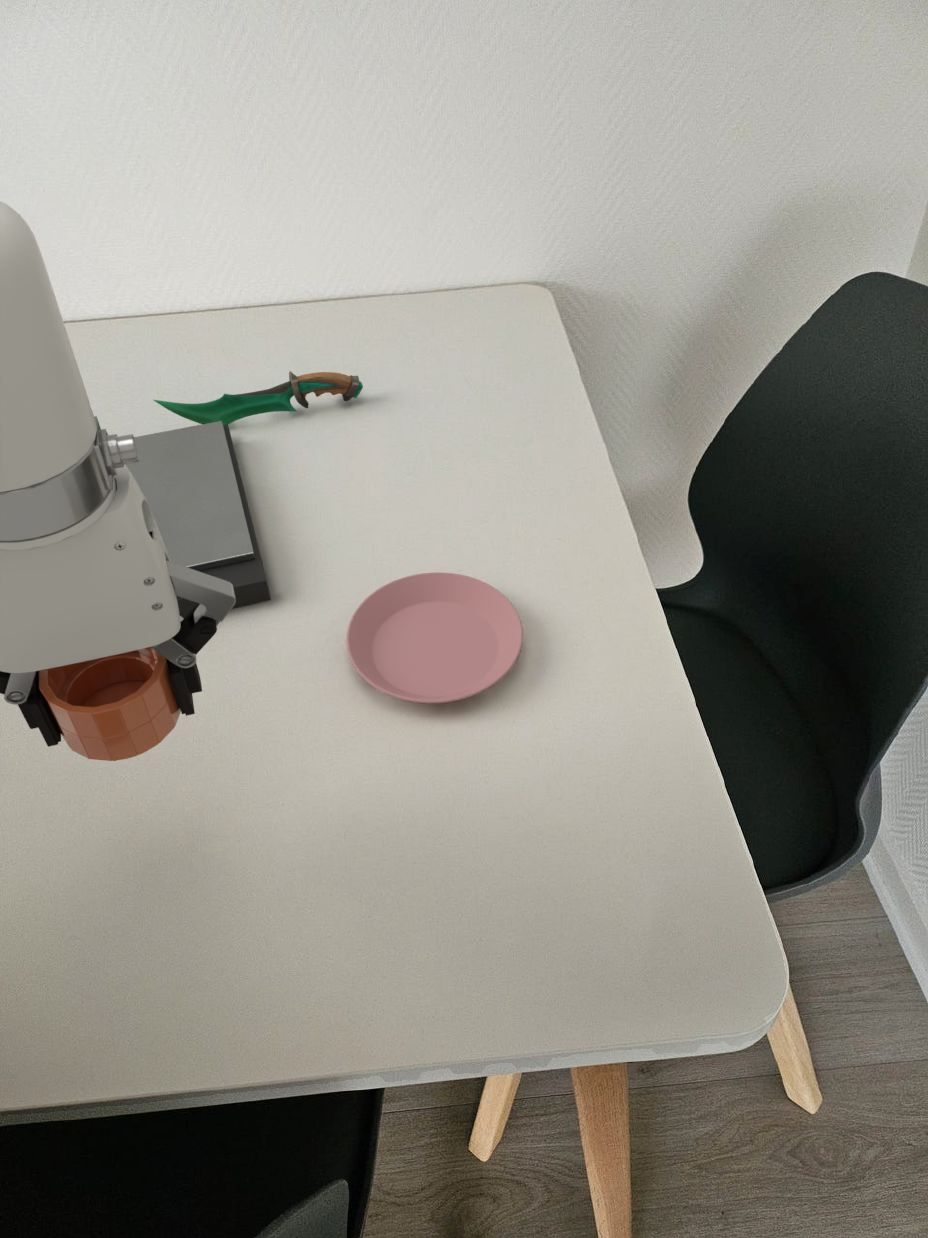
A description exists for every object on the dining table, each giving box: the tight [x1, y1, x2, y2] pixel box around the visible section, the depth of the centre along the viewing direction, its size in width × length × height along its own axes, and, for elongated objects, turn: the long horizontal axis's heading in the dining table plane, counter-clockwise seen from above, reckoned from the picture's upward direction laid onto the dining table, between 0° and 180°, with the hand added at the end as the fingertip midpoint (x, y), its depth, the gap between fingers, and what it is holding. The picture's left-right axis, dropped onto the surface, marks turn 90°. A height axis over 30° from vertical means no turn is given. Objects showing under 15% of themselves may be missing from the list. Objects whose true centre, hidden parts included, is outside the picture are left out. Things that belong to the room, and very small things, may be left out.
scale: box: [125, 421, 272, 618], centre depth 91 cm, size 14×24×3 cm, turn 17°
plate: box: [346, 571, 524, 704], centre depth 80 cm, size 14×14×2 cm
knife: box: [153, 370, 364, 425], centre depth 102 cm, size 21×2×5 cm, turn 108°
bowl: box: [39, 647, 182, 762], centre depth 58 cm, size 7×7×5 cm
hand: (121, 710), depth 59 cm, fingers closed on bowl, 7 cm apart
